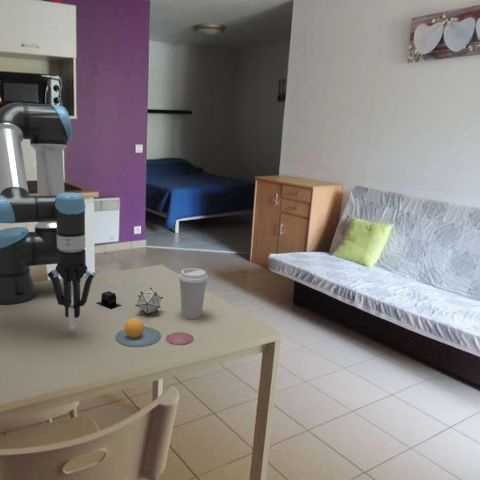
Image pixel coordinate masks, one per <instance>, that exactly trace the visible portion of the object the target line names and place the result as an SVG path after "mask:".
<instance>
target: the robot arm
mask: <svg viewBox="0 0 480 480" xmlns="http://www.w3.org/2000/svg"><path fill="white" fill-rule="evenodd" d="M70 118H71V117H70V115H69V111H68V110H67V108H65V107H64V106H63V105H57V104H56V105H55V104H49V103H48V104H47V103H34V102H33V103H30V102H29V103H28V102H19V101H18V102H15V101H14V102H11V103H8V104H5V105H4V106H2V107H1V108H0V224H11V225H12V224H13V225H14V224H19V223H20V224H23V223H24V224H25V223H36V224H35V225H34V231H30V230H29V229H28V228H27V227H25V226H24V227H23V226H21V227H19V226H17V227H16V226H14V227H8V228H7V227H6V228H3V229H0V305H14V304H15V305H16V304H21V303H24V302H29V301H31V300H33V299H34V298H36V296H37V286H36V285H35V282H34V280H33V278H32V275H31V268H30V267H33V266H35V267H36V266H37V267H38V266H44V265H45V266H47V265H56V266H55V269H53V270H50V272H48V273H47V276H48V277H49V279H50V281H51V284H52V286H53V290H54V294H55V298H56V301H57V303H58V304H57V305H59V306H64V313H65V314H64V316H65V318H68V330H75V329H76V327H77V326H78V318H79V317H80V315H81V307H83V306H85V305H86V304H87V301H88V297H89V293H90V291H91V286H92V281H93V279H94V278H95V277H96V273H95V272H91V271H90V270H89V269H88V267H87V264H86V263H87V260H86V259H87V258H86V249H85V248H86V204H85V201H86V200H85V196H84V195H83V193H77V192H65V177H64V176H65V174H64V173H65V170H64V152H63V151H64V150H65V149H66V148H67V147H68V142H71V141H72V139H73V130H72V123H71V119H70ZM24 140H29V141H30V142H29V143H30V146H31V148H33V149H34V150H35V162H36V181H37V182H36V184H37V185H36V186H37V195H29V187H28V179H27V174H26V168H25V160H24V155H23V154H24V153H23V148H22V142H23V141H24ZM59 276H60V277H61V279H62V280H63V281H62V282H63V283H61V280H60V278H59ZM83 277H84V278H85V282H84V285H83V289H82V294H81V281H82V280H81V279H82V278H83ZM62 285H63V288H62ZM72 295H73V296H72ZM72 297H73V301H72Z"/></svg>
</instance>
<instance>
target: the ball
mask: <svg viewBox="0 0 480 480" xmlns="http://www.w3.org/2000/svg"><path fill="white" fill-rule="evenodd" d="M144 327H145V326H144V323H143V322H142V320H140V319H139V318H131V319H128V320H127V321H126V323H125V324H124V329H125V333H126V334H127V335H128V336H129V337H132V338H136V337H139V336H140V335H141V334H142V333H143V330H144Z"/></svg>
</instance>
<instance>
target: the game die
mask: <svg viewBox="0 0 480 480" xmlns="http://www.w3.org/2000/svg"><path fill="white" fill-rule="evenodd" d="M149 288H150V289H149V290H146V291H139V292H140V295H139V294H138V295H137V297H138V301H137V304H136V305H134V307H138V308H139V309H140V310H141V311H142V312H144V313H146V317H148V316H149V314H151V313H154V312H156V313H157V312H159V309H161V306H160V305H161V300H162V299H164V296H160V295H159V294H157V291H156V292H155V291H153V290H152V286H151V287H149Z"/></svg>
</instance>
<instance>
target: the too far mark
mask: <svg viewBox="0 0 480 480" xmlns="http://www.w3.org/2000/svg"><path fill="white" fill-rule="evenodd" d="M165 341H166V342H167V343H169V344H170V345H171V344H172V345H175V346H185V345H188V344H189V345H190V343H192V342H193V341H194V336H193V335H192V334H190V333H187V332H184V331H183V332H179V331H178V332H176V331H175V332H172V333H169V334H168V335H166V336H165Z"/></svg>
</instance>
